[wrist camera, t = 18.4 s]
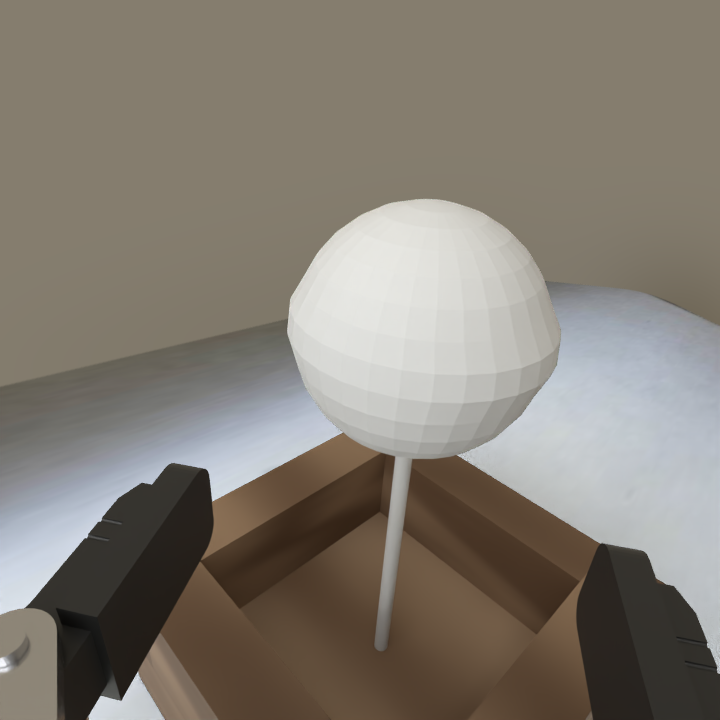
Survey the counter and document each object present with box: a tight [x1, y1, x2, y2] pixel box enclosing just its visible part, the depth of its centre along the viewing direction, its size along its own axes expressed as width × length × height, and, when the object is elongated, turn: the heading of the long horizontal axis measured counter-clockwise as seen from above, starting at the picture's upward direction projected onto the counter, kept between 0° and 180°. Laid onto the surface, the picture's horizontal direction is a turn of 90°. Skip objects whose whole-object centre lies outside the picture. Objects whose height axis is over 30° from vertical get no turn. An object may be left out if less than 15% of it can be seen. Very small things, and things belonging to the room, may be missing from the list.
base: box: [138, 433, 666, 720], centre depth 18 cm, size 12×12×6 cm
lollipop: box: [287, 199, 561, 651], centre depth 15 cm, size 6×6×15 cm
